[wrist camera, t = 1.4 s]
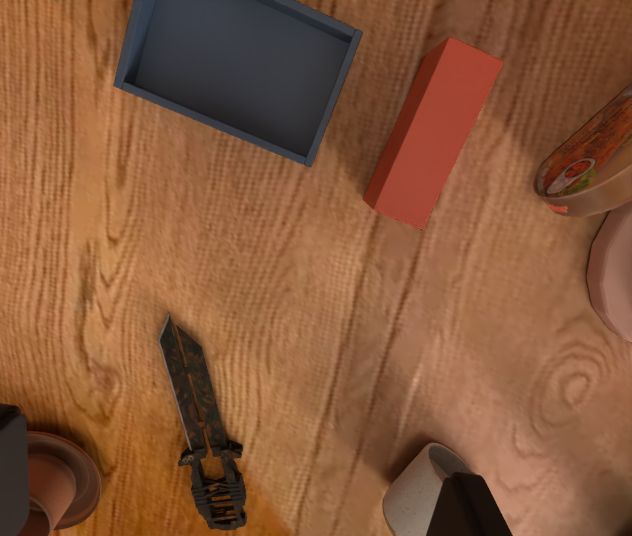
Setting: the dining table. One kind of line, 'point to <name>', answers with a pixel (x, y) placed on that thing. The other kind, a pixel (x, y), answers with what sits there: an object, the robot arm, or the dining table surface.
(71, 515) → the cup and saucer
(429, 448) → the ceramic mug
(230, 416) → the dining table surface
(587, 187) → the tin
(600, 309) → the hourglass
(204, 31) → the tray
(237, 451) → the knife
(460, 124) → the bar
